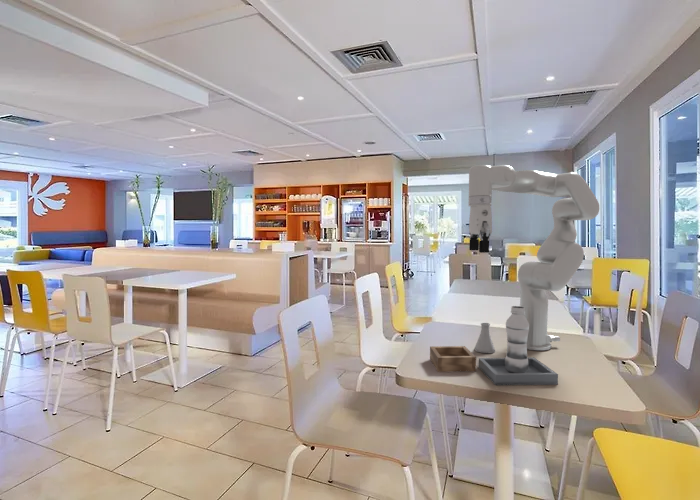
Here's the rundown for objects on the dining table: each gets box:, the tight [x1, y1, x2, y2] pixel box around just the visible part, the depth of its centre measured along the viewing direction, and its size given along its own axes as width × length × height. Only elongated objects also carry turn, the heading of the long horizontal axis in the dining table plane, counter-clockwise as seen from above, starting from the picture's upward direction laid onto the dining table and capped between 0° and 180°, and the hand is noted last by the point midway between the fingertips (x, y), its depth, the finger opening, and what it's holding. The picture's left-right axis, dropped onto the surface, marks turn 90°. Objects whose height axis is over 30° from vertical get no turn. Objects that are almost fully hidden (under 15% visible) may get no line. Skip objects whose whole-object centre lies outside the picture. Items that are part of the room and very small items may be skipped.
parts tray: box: [477, 356, 559, 386], centre depth 119 cm, size 18×14×3 cm
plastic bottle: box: [504, 305, 529, 373], centre depth 119 cm, size 6×7×20 cm
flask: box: [474, 322, 496, 354], centre depth 142 cm, size 7×7×10 cm
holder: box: [429, 345, 477, 373], centre depth 128 cm, size 12×11×4 cm
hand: (478, 251), depth 136 cm, fingers open, 9 cm apart
